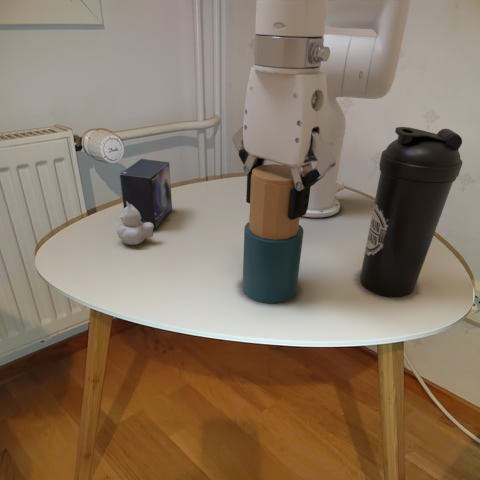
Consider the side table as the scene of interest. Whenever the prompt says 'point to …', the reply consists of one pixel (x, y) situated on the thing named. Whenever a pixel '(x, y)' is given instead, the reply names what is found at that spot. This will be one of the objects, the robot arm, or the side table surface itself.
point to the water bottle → (408, 208)
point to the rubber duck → (133, 226)
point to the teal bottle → (271, 267)
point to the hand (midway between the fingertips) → (275, 207)
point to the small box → (148, 190)
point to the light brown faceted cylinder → (271, 202)
